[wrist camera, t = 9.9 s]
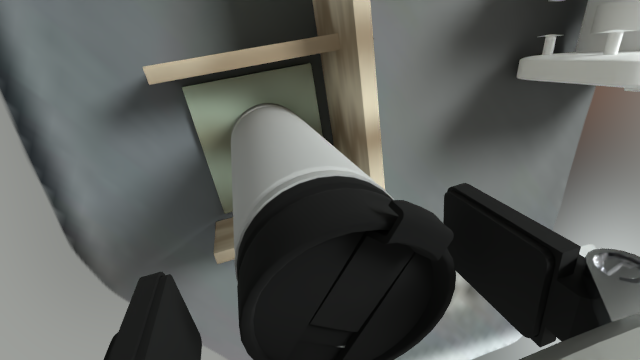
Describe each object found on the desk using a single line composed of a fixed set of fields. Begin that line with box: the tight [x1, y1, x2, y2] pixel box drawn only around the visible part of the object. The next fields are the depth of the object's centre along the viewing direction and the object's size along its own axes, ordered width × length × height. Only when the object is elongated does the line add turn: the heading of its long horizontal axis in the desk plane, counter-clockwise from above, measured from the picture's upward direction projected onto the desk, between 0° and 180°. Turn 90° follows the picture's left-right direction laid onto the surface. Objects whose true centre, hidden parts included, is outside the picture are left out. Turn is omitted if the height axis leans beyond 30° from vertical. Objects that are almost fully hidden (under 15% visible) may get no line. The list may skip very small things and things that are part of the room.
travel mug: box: [231, 103, 456, 360], centre depth 17 cm, size 6×7×20 cm
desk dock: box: [143, 0, 385, 264], centre depth 20 cm, size 28×13×8 cm, turn 9°
